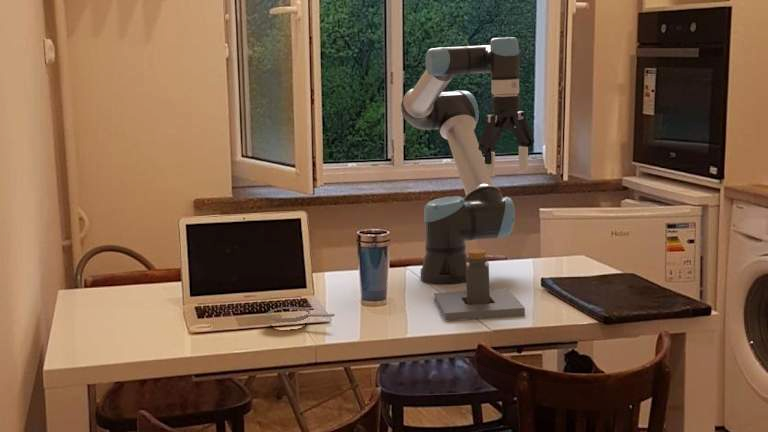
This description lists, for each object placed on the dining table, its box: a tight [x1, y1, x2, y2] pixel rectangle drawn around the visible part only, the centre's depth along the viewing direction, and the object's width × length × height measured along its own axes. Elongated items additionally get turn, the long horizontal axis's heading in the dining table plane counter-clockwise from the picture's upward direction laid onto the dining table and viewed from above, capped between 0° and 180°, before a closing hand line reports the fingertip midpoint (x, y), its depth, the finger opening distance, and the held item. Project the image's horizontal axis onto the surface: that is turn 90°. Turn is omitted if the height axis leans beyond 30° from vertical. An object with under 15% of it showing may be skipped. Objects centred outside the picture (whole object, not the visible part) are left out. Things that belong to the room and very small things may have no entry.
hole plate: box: [433, 288, 526, 321], centre depth 257 cm, size 20×20×2 cm
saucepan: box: [266, 306, 336, 323], centre depth 247 cm, size 11×18×4 cm, turn 69°
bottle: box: [465, 248, 490, 305], centre depth 256 cm, size 6×6×15 cm
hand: (507, 173), depth 273 cm, fingers open, 13 cm apart
